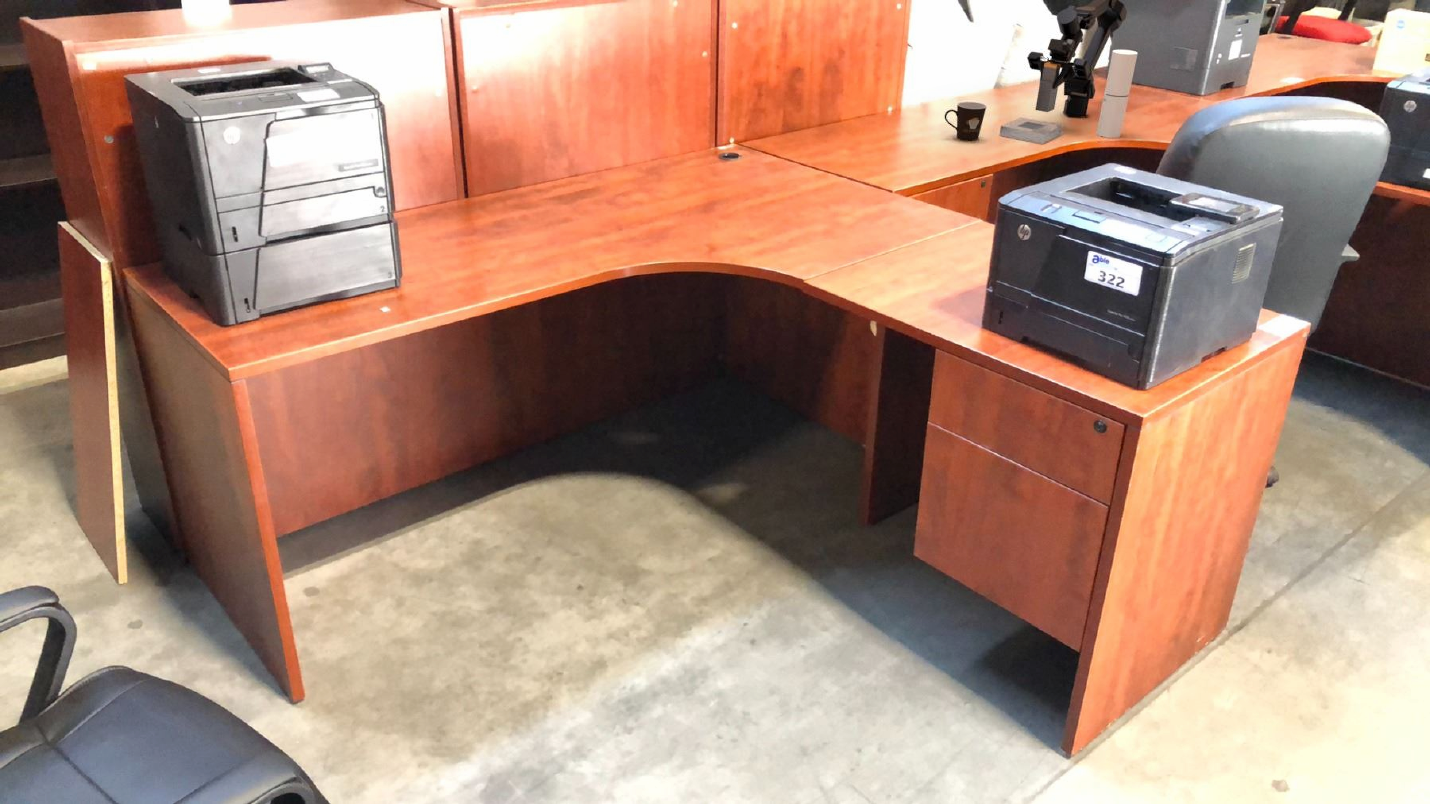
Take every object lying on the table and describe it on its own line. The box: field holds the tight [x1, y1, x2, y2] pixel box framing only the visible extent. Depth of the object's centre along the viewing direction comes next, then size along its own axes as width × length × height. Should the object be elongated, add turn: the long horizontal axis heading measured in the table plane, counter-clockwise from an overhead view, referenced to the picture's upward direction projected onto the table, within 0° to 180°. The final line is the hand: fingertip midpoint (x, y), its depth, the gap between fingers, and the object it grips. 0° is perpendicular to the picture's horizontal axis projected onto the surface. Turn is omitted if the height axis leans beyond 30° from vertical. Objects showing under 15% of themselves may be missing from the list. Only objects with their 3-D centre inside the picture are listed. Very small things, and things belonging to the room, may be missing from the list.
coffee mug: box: [944, 101, 987, 142], centre depth 316 cm, size 12×9×10 cm
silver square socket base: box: [999, 117, 1064, 145], centre depth 322 cm, size 14×14×3 cm
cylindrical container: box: [1096, 49, 1138, 139], centre depth 319 cm, size 7×7×25 cm
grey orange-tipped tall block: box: [1034, 62, 1061, 113], centre depth 321 cm, size 5×4×14 cm
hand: (1046, 87), depth 320 cm, fingers closed on grey orange-tipped tall block, 4 cm apart
